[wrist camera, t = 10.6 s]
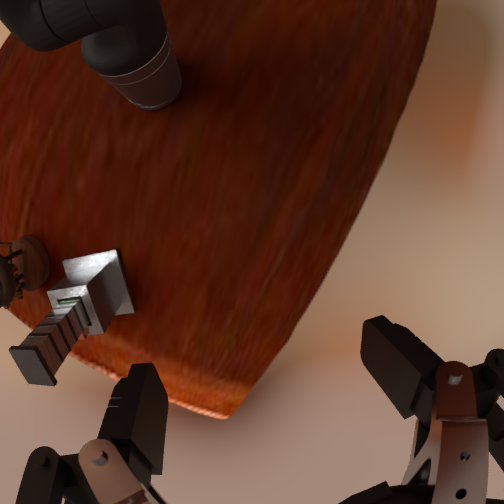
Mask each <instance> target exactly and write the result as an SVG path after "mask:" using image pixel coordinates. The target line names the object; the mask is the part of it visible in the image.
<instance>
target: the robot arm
mask: <svg viewBox="0 0 504 504" xmlns="http://www.w3.org/2000/svg"><path fill="white" fill-rule="evenodd" d="M0 20H1V21H2V23H3V24H4V25H5V26H6V27H7V28H8V29H9V31H10V32H11V33H12V34H13V35H14V36H15V37H16V38H17V39H18V40H20V41H21V42H22V43H23V44H25V45H26V46H28V47H30V48H32V49H34V50H36V51H40V52H47V51H51V50H55V49H58V48H61V47H63V46H66V45H68V44H70V43H72V42H74V41H77V40H79V39H81V38H83V40H82V45H81V52H82V56H83V59H84V60H85V62H86V63H87V64H88V65H89V66H90V67H91V68H92V69H93V70H94V71H96V72H97V73H98V74H99V75H100V76H102V77H103V78H104V79H105V80H106V81H108V82H109V83H110V84H111V85H112V86H113V87H115V88H116V89H117V90H118V91H119V92H120V93H122V94H123V95H124V96H125V97H126V98H127V99H128V100H130V101H131V102H132V103H133V104H134V105H135V106H137V107H138V108H140V109H143V110H158V109H161V108H163V107H165V106H167V105H169V104H170V103H171V102H173V101H174V99H175V98H176V97H177V96H178V94H179V92H180V90H181V87H182V76H181V73H180V70H179V66H178V63H177V60H176V56H175V53H174V50H173V46H172V43H171V40H170V36H169V33H168V30H167V27H166V23H165V20H164V16H163V13H162V9H161V5H160V1H159V0H0ZM360 353H361V359H362V362H363V364H364V366H365V367H366V369H367V370H368V371H369V373H370V374H371V375H372V376H373V378H374V379H375V380H376V381H377V383H378V384H379V386H380V387H381V388H382V390H383V391H384V392H385V393H386V395H387V396H388V398H389V399H390V401H391V402H392V403H393V404H394V405H395V407H396V409H397V410H398V411H399V413H400V414H401V415H402V417H403V418H404V419H407V418H409V417H411V416H412V415H414V414H415V415H416V416H417V418H418V419H417V421H416V426H415V433H414V440H413V446H412V451H411V457H410V462H409V465H408V468H407V470H406V472H405V475H404V477H403V480H402V483H401V485H397V486H390V487H389V485H388V484H387V482H386V481H385V482H382V483H380V484H378V485H376V486H374V487H372V488H369V489H367V490H364V491H362V492H360V493H357V494H354V495H352V496H350V497H349V498H347V499H345V500H344V501H342V502H340V503H339V504H504V500H499V499H488V498H486V494H487V482H488V462H489V461H488V460H489V452H490V453H491V455H492V456H493V457H494V459H495V460H496V462H497V463H498V464H499V466H500V467H501V469H502V470H503V472H504V410H503V409H502V408H501V407H500V406H499V405H498V404H497V400H498V398H499V396H500V395H502V397H503V398H504V349H493V350H491V351H490V352H489V353H488V354H487V356H486V359H485V361H484V363H482V364H479V365H475V366H472V367H468V366H467V365H465V364H463V363H461V362H458V361H449V362H444V361H443V360H442V359H441V358H440V357H439V356H438V355H437V354H436V353H435V352H433V351H432V350H431V349H430V348H429V347H428V346H427V345H426V344H424V343H423V342H421V340H420V339H419V338H418V337H415V335H414V334H413V333H412V332H411V331H410V330H409V329H407V328H406V327H403V326H401V325H399V324H396V323H395V324H392V323H391V322H390V321H389V320H388V319H387V318H386V317H385V316H383V315H381V316H377V317H374V318H371V319H368V320H365V321H364V323H363V329H362V341H361V351H360ZM167 414H168V396H167V393H166V390H165V388H164V386H163V384H162V382H161V379H160V377H159V375H158V373H157V371H156V368H155V366H154V364H153V363H140V364H132V366H131V368H130V371H129V374H128V377H127V378H122V379H121V380H120V381H119V382H118V383H117V384H116V386H115V387H114V389H113V392H112V395H111V399H110V400H109V403H108V408H107V410H106V412H105V416H104V419H103V422H102V425H101V428H100V431H99V434H98V437H97V439H95V440H92V441H89V442H88V443H86V444H85V445H84V446H83V447H82V448H81V450H80V452H79V453H78V454H72V455H63V456H60V455H58V454H57V452H55V450H53V449H52V448H50V447H46V446H43V447H39V448H37V449H35V450H34V451H33V452H32V453H31V455H30V456H29V459H28V462H27V465H26V468H25V471H24V474H23V478H22V481H21V484H20V488H19V492H18V495H17V499H16V504H61V503H62V497H63V498H64V499H65V503H64V504H168V503H167V502H166V501H165V500H164V499H163V497H162V496H161V495H160V494H159V493H158V491H157V490H156V489H155V488H154V486H153V485H152V484H151V483H150V482H151V475H162V468H163V454H164V443H165V433H166V423H167Z"/></svg>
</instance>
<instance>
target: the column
mask: <svg viewBox="0 0 504 504" xmlns="http://www.w3.org/2000/svg"><path fill="white" fill-rule="evenodd" d="M89 323H90V318H89V316H88V313H87V311H86V308H85V305H84V303H83V300H82V297H81V296H77V297H70V298H64V299H63V300H61V301H60V303H59V304H58V305H57V306H56V307H55V308H53V309H52V311H51V312H50V313H49V314H48V315H47V316H46V317H45V318H44V319H43V320H42V321H41V322H40V323H39V324H38V325H37V326H36V328H35V329H34V330H33V331H32V332H31V333H30V334H29V335H28V336H27V338H26V339H25V340H24V341H23V342H22V343H21V345H19V346H11V347H10V348H9V352H10V353H11V355H12V357H13V359H14V360H15V362H16V364H17V366H18V368H19V369H20V371H21V373H22V374H23V376H24V377H25V379H26V381H27V382H28V383H29V384H36V385H47V386H55V385H56V384H57V380H56V378H55V377H54V375H55V374H56V372H57V370H58V369H59V367H60V366H61V364H62V363H63V361H64V359H65V358H66V356H67V355H68V353H69V352H70V351H71V349H72V347H73V346H74V344H75V343H76V342H77V340H78V338H79V337H80V335H81V334H82V332H83V331H84V329H85V328H86V327H87V325H88V324H89Z"/></svg>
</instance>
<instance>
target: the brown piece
mask: <svg viewBox="0 0 504 504" xmlns="http://www.w3.org/2000/svg"><path fill="white" fill-rule="evenodd" d="M0 246H9V248H8V251H7V256H5V257H3V256H2V255H1V254H0V308H1V307H3V306H4V308H5V309H7V308H8V307H10V302H11V301H12V300H13V299H15V298H16V299H18V300H20V299H22V298H23V292H22V289H24V290H26V291H33V290H35V289H37V288H38V287H39V286H41V285H42V284H43V283H44V282H45V281H46V280H47V278H48V276H49V272H50V262H49V257H48V254H47V252H46V250H45V248H44V246H43V245H42V243H41V242H40V241H39V240H38V239H37V238H35V237H33V236H23V237H21V238H19V239H17V240H15V241H13V242H12V243H10V242H0ZM21 288H22V289H21Z"/></svg>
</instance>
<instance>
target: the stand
mask: <svg viewBox="0 0 504 504" xmlns="http://www.w3.org/2000/svg"><path fill="white" fill-rule="evenodd" d="M62 262H63V266H64V269H65V272H66V276H65V277H64V278H62V279H61V280H60V281H59V282H57V283H56V284H55V285H54V286H53V287H51V288H50V289H49V290H48V291H47V294H48V297H49V299H50V302H51V304H52V307H53V308H55V307H56V306H57V305H58V304H59V303H60V301H61V300H63V299H64V298H70V297H77V296H81V297H82V300H83V303H84V305H85V308H86V311H87V313H88V316H89V318H90V323H89V324H88V325H87V327H86V328H85V329H84V331H83V332H82V334H81V335H80V337H79V338H78V340H79V339H85V338H86V337H87V335H93V334H104V333H105V331H106V330H107V328H108V326H109V324H110V323H111V321H112V319H113V318H114V316H115V315H120V314H128V313H135V311H136V309H135V306H134V303H133V300H132V297H131V294H130V291H129V287H128V284H127V281H126V277H125V274H124V271H123V267H122V263H121V260H120V256H119V252H118V248H116V249H111V250H106V251H101V252H97V253H92V254H88V255H83V256H78V257H74V258H69V259H65V260H63V261H62Z"/></svg>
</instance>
